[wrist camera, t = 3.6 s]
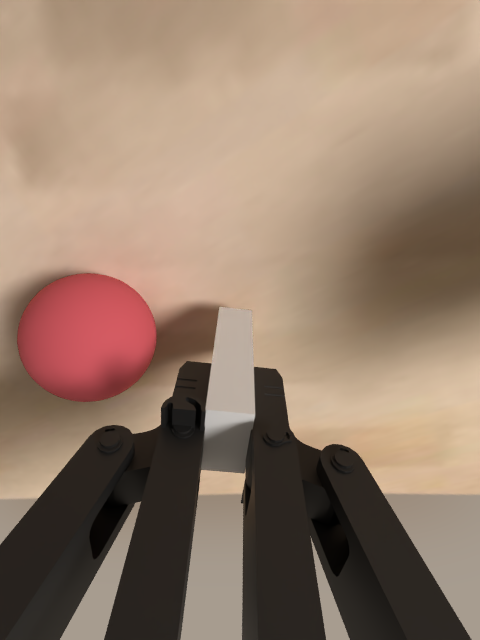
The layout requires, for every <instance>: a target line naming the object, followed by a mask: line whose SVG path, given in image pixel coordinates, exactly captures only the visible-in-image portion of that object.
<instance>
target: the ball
mask: <svg viewBox="0 0 480 640" xmlns="http://www.w3.org/2000/svg"><path fill="white" fill-rule="evenodd" d="M156 336H157V335H156V326H155V322H154V318H153V315H152V312H151V311H150V309H149V307H148V305H147V304H146V302H145V301H144V299H143V298H142V297H141V296H140V295H139V294H138V293H137V292H136V291H135V290H134V289H133V288H131V287H130V286H129V285H127V284H125V283H124V282H122V281H120V280H118V279H115V278H113V277H109V276H106V275H100V274H91V273H86V274H76V275H71V276H67V277H64V278H61V279H59V280H56V281H54V282H53V283H51V284H49V285H47V286H46V287H45V288H43V289H42V290H41V291H39V292H38V293H37V294H36V295H35V297H34V298H33V299H32V300H31V301H30V302H29V304H28V306H27V307H26V309H25V310H24V312H23V315H22V317H21V320H20V323H19V327H18V335H17V344H18V350H19V355H20V358H21V361H22V363H23V365H24V367H25V369H26V370H27V372H28V374H29V375H30V376H31V377H32V379H33V380H34V381H35V382H36V383H37V384H39V385H40V386H41V387H42V388H44V389H45V390H47V391H48V392H50V393H52V394H54V395H56V396H58V397H61V398H64V399H68V400H72V401H79V402H90V401H99V400H104V399H107V398H110V397H113V396H116V395H118V394H120V393H122V392H123V391H125V390H127V389H128V388H129V387H131V386H132V385H133V384H134V383H136V382H137V381H138V380H139V379H140V377H141V376H142V375H143V374H144V373H145V371H146V370H147V368H148V366H149V364H150V362H151V360H152V358H153V355H154V351H155V347H156Z"/></svg>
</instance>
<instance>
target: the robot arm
mask: <svg viewBox="0 0 480 640" xmlns="http://www.w3.org/2000/svg"><path fill="white" fill-rule="evenodd" d="M245 467H246V478H245V484H244V489H243V494H242V500H241V503H243V610H242V611H243V613H242V640H326V636H325V630H324V623H323V616H322V610H321V603H320V597H319V590H318V583H317V577H316V570H315V564H314V558H313V550H312V544H311V538H312V541H313V543H314V546H315V549H316V551H317V554H318V556H319V559H320V562H321V564H322V567H323V570H324V572H325V575H326V578H327V580H328V583H329V585H330V588H331V591H332V593H333V596H334V599H335V601H336V604H337V607H338V609H339V612H340V615H341V617H342V620H343V622H344V625H345V628H346V630H347V633H348V636H349V638H350V640H471V639H470V637H469V635H468V633H467V632H466V630H465V628H464V627H463V625H462V623H461V622H460V620H459V619H458V617H457V615H456V613H455V612H454V610H453V609H452V607H451V605H450V604H449V602H448V601H447V599H446V597H445V595H444V594H443V592H442V590H441V589H440V587H439V585H438V584H437V582H436V581H435V579H434V577H433V575H432V574H431V572H430V571H429V569H428V567H427V566H426V564H425V562H424V561H423V559H422V557H421V556H420V554H419V552H418V551H417V549H416V548H415V546H414V544H413V543H412V541H411V539H410V538H409V536H408V534H407V533H406V531H405V529H404V528H403V526H402V524H401V523H400V521H399V519H398V518H397V516H396V514H395V513H394V511H393V509H392V508H391V506H390V505H389V503H388V501H387V500H386V498H385V496H384V495H383V493H382V491H381V490H380V488H379V486H378V485H377V483H376V481H375V480H374V478H373V476H372V475H371V473H370V471H369V470H368V468H367V467H366V465H365V463H364V462H363V460H362V459H361V457H360V456H359V455H358V454H357V453H356V452H355V451H353V450H352V449H350V448H349V447H346V446H343V445H338V444H332V445H329V446H326V447H325V448H324V449H323V450H322V451H321V450H318V449H315V448H313V447H310V446H308V445H306V444H303V443H302V442H300V441H299V440H298V439H297V438H296V437H295V436H294V434H293V432H292V431H291V430H290V427H289V422H288V415H287V408H286V401H285V394H284V387H283V379H282V377H281V376H280V374H279V373H278V371H277V370H276V369H269V368H259V367H254V359H253V328H252V310H245V309H236V308H226V307H219V314H218V321H217V328H216V336H215V343H214V350H213V357H212V364H211V363H201V362H191V361H187V362H186V363H185V364H184V365H183V366H182V367H181V368H180V369H179V373H178V377H177V381H176V385H175V389H174V392H173V396H172V397H170V398H169V399H167V400H166V401H165V402H164V403H163V405H162V407H161V425H160V426H159V427H157V428H155V429H153V430H151V431H147V432H143V433H137V434H132V433H131V431H130V430H129V429H127V428H125V427H123V426H118V425H111V426H105V427H103V428H100V429H98V430H96V431H95V432H94V433H93V434H92V435H90V436H89V438H88V439H87V440H86V441H85V442H84V444H83V445H82V446H81V447H80V449H79V450H78V451H77V452H76V453H75V455H74V456H73V457H72V458H71V459H70V461H69V462H68V463H67V464H66V466H65V467H64V468H63V469H62V470H61V472H60V473H59V474H58V475H57V477H56V478H55V479H54V480H53V481H52V483H51V484H50V485H49V486H48V487H47V489H46V490H45V491H44V492H43V494H42V495H41V496H40V497H39V498H38V500H37V501H36V502H35V503H34V505H33V506H32V507H31V508H30V509H29V511H28V512H27V513H26V514H25V515H24V517H23V518H22V519H21V520H20V521H19V523H18V524H17V525H16V526H15V528H14V529H13V530H12V531H11V532H10V534H9V535H8V536H7V537H6V539H5V540H4V541H3V542H2V543H1V545H0V640H60V638H61V636H62V634H63V633H64V631H65V629H66V627H67V625H68V624H69V622H70V620H71V618H72V616H73V615H74V613H75V611H76V609H77V607H78V606H79V604H80V602H81V600H82V598H83V597H84V594H85V593H86V591H87V589H88V588H89V586H90V584H91V582H92V580H93V579H94V577H95V574H96V573H97V571H98V569H99V568H100V566H101V564H102V562H103V560H104V559H105V557H106V555H107V553H108V551H109V550H110V548H111V546H112V544H113V542H114V540H115V539H116V537H117V535H118V533H119V532H120V530H121V528H122V526H123V524H124V522H125V520H126V519H127V517H128V515H129V514H130V512H131V510H132V508H133V506H134V504H135V503H136V502H140V501H141V504H140V508H139V512H138V516H137V519H136V523H135V527H134V530H133V534H132V538H131V542H130V545H129V549H128V553H127V556H126V560H125V564H124V568H123V572H122V575H121V579H120V583H119V586H118V590H117V594H116V597H115V601H114V605H113V609H112V612H111V616H110V620H109V624H108V627H107V631H106V635H105V638H104V640H180V638H181V630H182V622H183V613H184V606H185V597H186V590H187V581H188V572H189V565H190V556H191V549H192V541H193V532H194V524H195V516H196V508H197V500H198V492H199V483H200V473H201V470H211V471H223V472H234V473H245ZM310 536H311V537H310Z"/></svg>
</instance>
